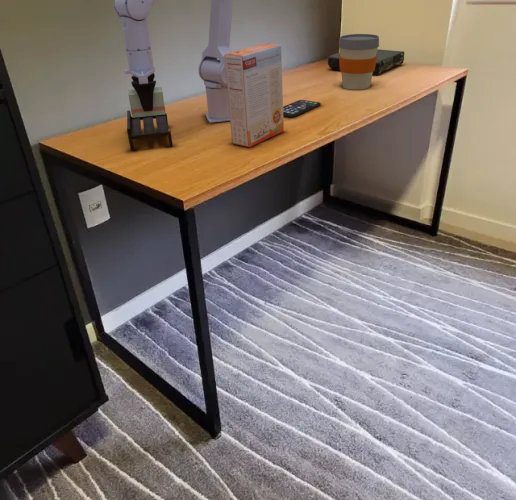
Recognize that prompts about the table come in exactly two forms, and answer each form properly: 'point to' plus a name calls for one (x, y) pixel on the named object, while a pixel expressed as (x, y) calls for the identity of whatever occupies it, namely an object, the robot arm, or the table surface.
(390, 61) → the network switch
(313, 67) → the table surface
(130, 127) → the rack
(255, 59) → the cracker box
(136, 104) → the tissue box
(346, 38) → the reusable coffee cup
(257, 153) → the table surface
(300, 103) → the smartphone
